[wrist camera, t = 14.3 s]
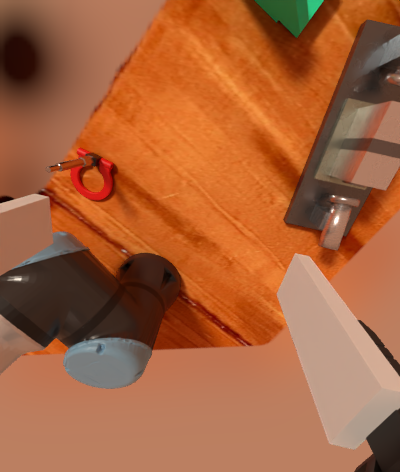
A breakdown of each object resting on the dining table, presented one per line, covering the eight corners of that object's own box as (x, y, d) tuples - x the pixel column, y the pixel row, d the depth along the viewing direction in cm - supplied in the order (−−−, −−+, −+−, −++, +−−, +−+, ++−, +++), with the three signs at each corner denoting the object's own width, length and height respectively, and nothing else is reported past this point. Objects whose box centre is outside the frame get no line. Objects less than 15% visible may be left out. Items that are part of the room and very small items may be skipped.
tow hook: (109, 205, 46) (119, 164, 41) (69, 230, 34) (77, 177, 30) (71, 188, 45) (78, 144, 41) (17, 208, 33) (18, 150, 29)
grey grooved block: (356, 183, 37) (384, 193, 30) (327, 177, 37) (349, 185, 30) (392, 112, 32) (435, 106, 26) (359, 105, 32) (393, 96, 26)
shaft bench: (339, 238, 43) (366, 261, 35) (281, 225, 43) (294, 245, 35) (450, 32, 30) (536, -9, 21) (365, 13, 30) (419, -35, 22)
